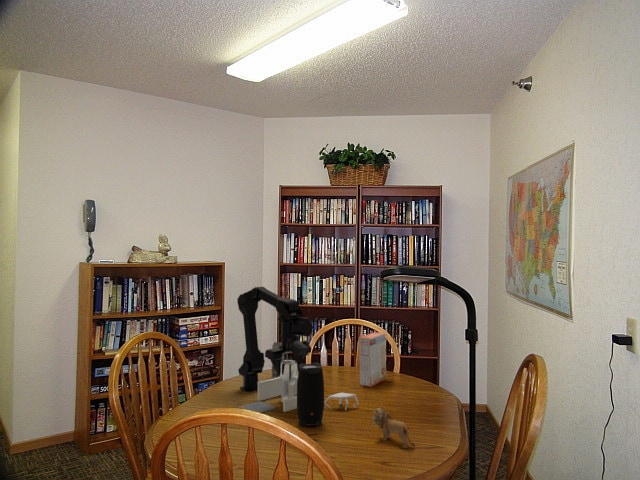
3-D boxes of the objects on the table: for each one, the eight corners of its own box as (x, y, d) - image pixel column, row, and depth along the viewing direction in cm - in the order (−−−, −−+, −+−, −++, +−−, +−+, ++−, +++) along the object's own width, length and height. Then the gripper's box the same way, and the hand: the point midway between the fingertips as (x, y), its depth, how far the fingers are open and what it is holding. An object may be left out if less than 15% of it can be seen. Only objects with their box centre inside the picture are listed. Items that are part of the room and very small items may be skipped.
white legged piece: (348, 402, 182) (348, 389, 182) (359, 409, 174) (359, 395, 174) (320, 407, 176) (320, 393, 176) (330, 414, 169) (330, 400, 169)
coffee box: (286, 383, 206) (286, 345, 207) (271, 383, 206) (271, 345, 207) (288, 377, 216) (288, 341, 216) (273, 377, 216) (274, 341, 216)
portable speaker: (320, 429, 154) (320, 369, 154) (292, 426, 157) (293, 367, 157) (327, 420, 162) (327, 363, 162) (301, 417, 165) (301, 361, 165)
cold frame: (257, 400, 183) (257, 382, 183) (291, 391, 194) (292, 374, 195) (284, 411, 170) (284, 392, 171) (319, 401, 182) (319, 383, 182)
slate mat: (237, 408, 174) (237, 406, 174) (260, 402, 181) (260, 401, 181) (253, 415, 167) (253, 414, 167) (276, 409, 173) (276, 407, 173)
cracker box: (374, 377, 215) (374, 331, 215) (386, 380, 212) (386, 333, 212) (358, 385, 204) (358, 336, 204) (370, 387, 200) (370, 338, 200)
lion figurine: (368, 438, 147) (368, 409, 148) (378, 433, 152) (378, 404, 152) (411, 451, 138) (411, 420, 138) (419, 445, 142) (419, 415, 142)
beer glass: (295, 404, 178) (295, 364, 179) (277, 403, 180) (277, 363, 180) (299, 398, 185) (299, 360, 185) (282, 397, 187) (282, 359, 187)
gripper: (282, 339, 171) (282, 382, 170) (320, 333, 183) (320, 373, 183) (264, 334, 179) (264, 376, 179) (302, 329, 191) (301, 367, 191)
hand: (288, 373), depth 183 cm, fingers open, 9 cm apart
